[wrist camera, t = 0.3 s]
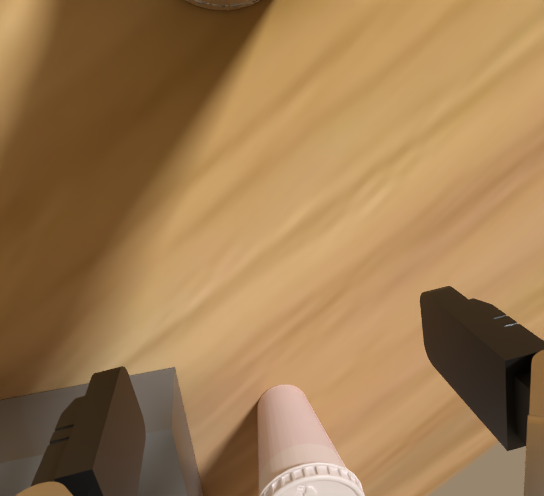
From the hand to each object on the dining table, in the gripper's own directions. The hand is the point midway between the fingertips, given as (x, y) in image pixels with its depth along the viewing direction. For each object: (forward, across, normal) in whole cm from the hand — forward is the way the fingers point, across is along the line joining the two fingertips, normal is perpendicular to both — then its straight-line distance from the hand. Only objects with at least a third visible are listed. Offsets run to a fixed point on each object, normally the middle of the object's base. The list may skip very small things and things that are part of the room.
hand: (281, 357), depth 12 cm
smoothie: (+18, 0, +16) cm, 24 cm away
